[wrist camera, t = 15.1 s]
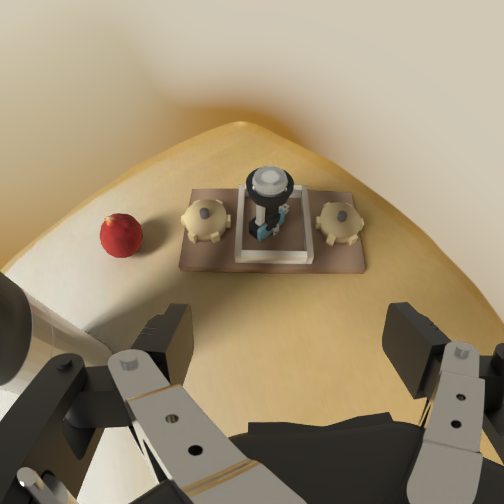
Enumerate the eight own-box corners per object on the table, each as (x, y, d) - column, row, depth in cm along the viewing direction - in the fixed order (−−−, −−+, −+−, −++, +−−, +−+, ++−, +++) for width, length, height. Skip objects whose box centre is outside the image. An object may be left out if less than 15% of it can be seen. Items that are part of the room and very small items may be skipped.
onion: (134, 226, 44) (116, 191, 37) (157, 248, 42) (139, 213, 35) (105, 251, 42) (82, 219, 35) (126, 276, 40) (102, 245, 33)
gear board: (178, 270, 40) (171, 254, 36) (191, 194, 47) (186, 175, 43) (364, 273, 40) (374, 258, 36) (351, 197, 46) (357, 179, 42)
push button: (273, 201, 44) (276, 148, 35) (301, 222, 42) (311, 171, 34) (239, 229, 42) (235, 177, 33) (268, 253, 40) (271, 203, 31)
